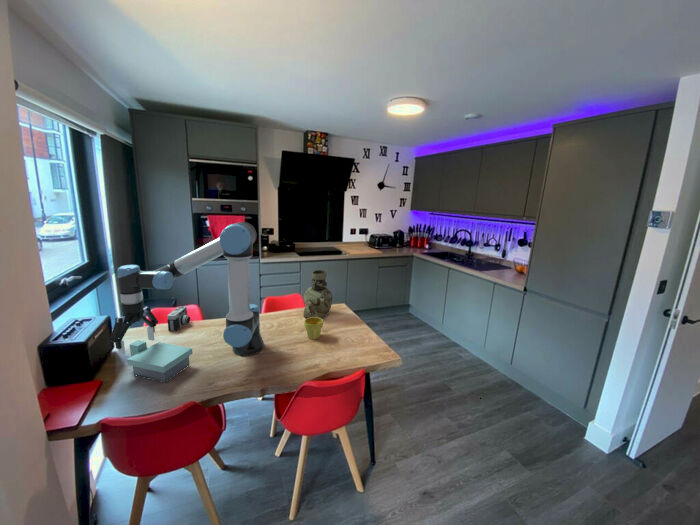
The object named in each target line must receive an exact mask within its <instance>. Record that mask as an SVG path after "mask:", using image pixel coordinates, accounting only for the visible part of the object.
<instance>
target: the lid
mask: <svg viewBox="0 0 700 525" xmlns="http://www.w3.org/2000/svg"><path fill="white" fill-rule="evenodd" d="M129 350H130V357H128V358H126V362H127V366H131V367H133V366H135V367H139V368H144V369H148V370H153V371H157V372H162V373H164V372H166V371H167V370H169V369H170V368H172V367H173V366H175V365H176V364H178V363H179V362H181V361H182V360H184V359H185V358H187V357H188V356H189V357H190V356H191V355H192V354H193V347H188V346H183V345H177V344H172V343H166V342H162V341H158V342H156V343H154V344H153V345H151V346H148V345H147V342H146V341H143V340H136V341H133V342H131V343H130V344H129Z"/></svg>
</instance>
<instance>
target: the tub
mask: <svg viewBox="0 0 700 525" xmlns="http://www.w3.org/2000/svg"><path fill="white" fill-rule="evenodd" d="M189 365H191V364H190V356H188V357H187V358H185V359H184V360H182V361H181V362H179V363H178V364H176V365H175V366H173V367H172V368H170V369H169V370H167V371H166V372H164V373H162V372H157V371H153V370H148V369H144V368H139V367H135V366H132V371H133V372H132V373H133V376H134V375H137V376H136V377H138V376H140V377H139V378H142V377H145V378H144V379H147V378H150V379H149V380H151V379H154V380H153V381H155V380H157V381H156V382H160V381H162V382H161V383H164V382H165V383H167V382H168V381H170V380H171V379H172V377H173V376H174V375H175V376H176V374H177V373H178V374H179V372H180V371H181V370H182V371H184V370H185V369H187V368H188V367H190V366H189ZM187 366H188V367H187ZM186 367H187V368H186ZM184 368H185V369H184ZM183 369H184V370H183ZM182 371H181V372H182ZM181 372H180V373H181ZM178 374H177V375H178ZM175 376H174V377H175ZM174 377H173V378H174ZM170 378H171V379H170ZM169 379H170V380H169ZM167 380H168V381H167ZM166 381H167V382H166Z"/></svg>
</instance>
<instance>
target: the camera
mask: <svg viewBox="0 0 700 525" xmlns="http://www.w3.org/2000/svg"><path fill="white" fill-rule="evenodd" d="M190 321H191V317H190V316H189V315H188V310H187V306H186V305H185V306H177V307H176V308H175V309H174V310H172V311H170V313H168V314H167V329H168V332H178V331H179V330H180V327H181V326H182V327H183V326H185V325H188V324H189V323H190ZM182 327H181V328H182Z"/></svg>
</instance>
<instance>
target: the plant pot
mask: <svg viewBox="0 0 700 525" xmlns="http://www.w3.org/2000/svg"><path fill="white" fill-rule="evenodd" d="M303 326H304V328H305V331H306V334H307V338H308V339H310V340H317V339H318V340H319V338H320V336H321V332H322V328H323V327H324V319H321V318H318V317H310V318H307V319H306V318H305V319H304V325H303Z"/></svg>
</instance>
